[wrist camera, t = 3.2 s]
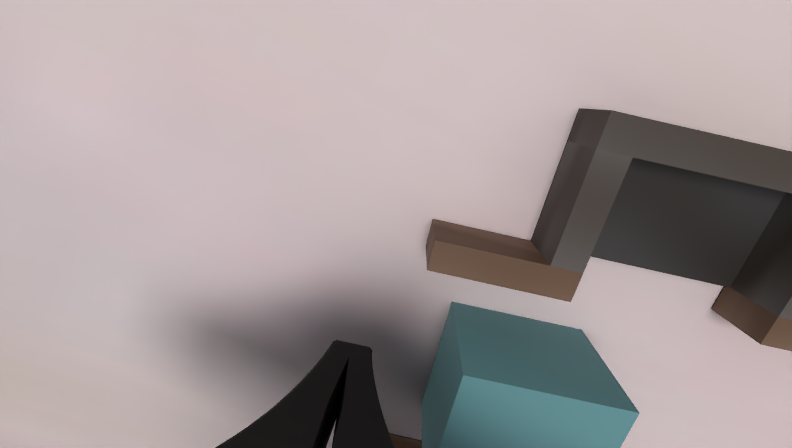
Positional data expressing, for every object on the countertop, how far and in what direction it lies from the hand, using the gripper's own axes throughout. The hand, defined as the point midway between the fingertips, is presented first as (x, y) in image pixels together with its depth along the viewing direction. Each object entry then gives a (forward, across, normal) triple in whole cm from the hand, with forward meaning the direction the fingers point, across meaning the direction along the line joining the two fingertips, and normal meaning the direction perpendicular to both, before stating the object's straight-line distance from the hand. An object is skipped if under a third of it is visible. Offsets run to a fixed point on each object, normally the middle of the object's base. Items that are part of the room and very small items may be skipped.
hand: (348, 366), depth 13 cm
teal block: (+2, -6, 0) cm, 6 cm away
